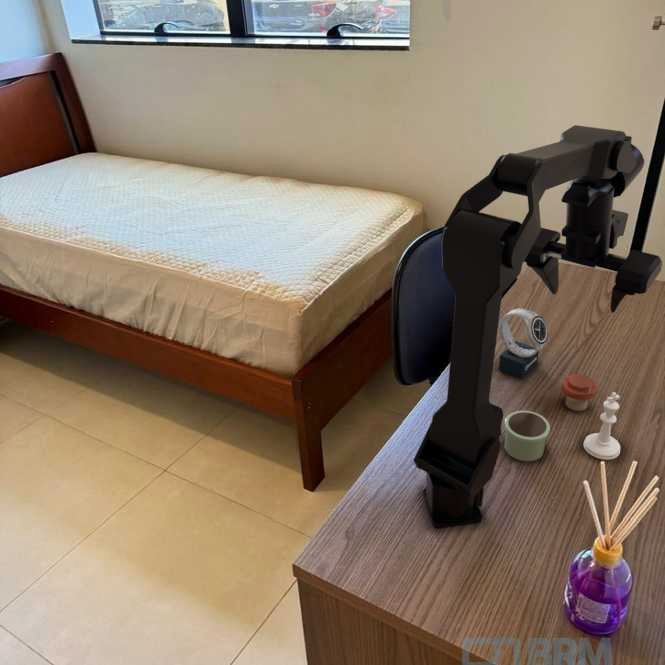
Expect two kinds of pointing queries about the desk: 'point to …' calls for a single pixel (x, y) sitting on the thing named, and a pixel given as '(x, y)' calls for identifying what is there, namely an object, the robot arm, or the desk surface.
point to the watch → (519, 354)
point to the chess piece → (605, 433)
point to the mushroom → (579, 391)
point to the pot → (526, 435)
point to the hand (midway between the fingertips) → (583, 301)
